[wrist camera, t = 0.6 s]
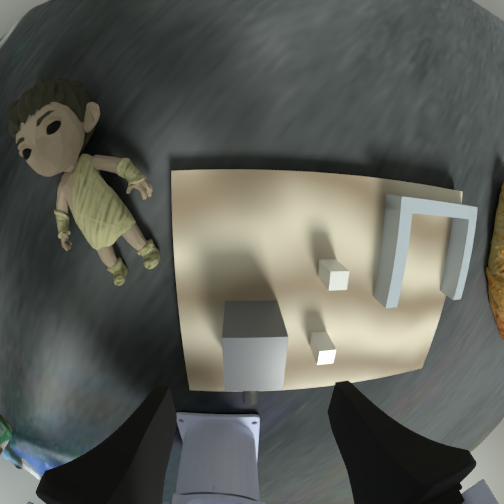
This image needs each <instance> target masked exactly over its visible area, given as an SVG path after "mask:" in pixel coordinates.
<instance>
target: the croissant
mask: <svg viewBox="0 0 504 504" xmlns="http://www.w3.org/2000/svg"><path fill="white" fill-rule="evenodd" d="M494 225H495V226H494V231H493V237H492V241H491V250H490V255H489V261H488V267H487V268H486V276H487V278H488V281H489V284H488V294H489V301H490V306H491V309H492V311H493V313H494V317H495V320H496V323H497V326H498V331H499V335H500V336H501V338H502V339H504V182H503V184H502V188H501V193H500V195H499V203H498V207H497V210H496V217H495V222H494Z"/></svg>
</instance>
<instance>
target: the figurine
mask: <svg viewBox="0 0 504 504" xmlns="http://www.w3.org/2000/svg"><path fill="white" fill-rule="evenodd" d="M99 116H100V110H99V105H98V104H96V103H94V102H91V100H90V97H89V95H88V93H87V91H85V90H84V89H83V88H82V85H81V83H79V82H77V81H67V80H60V79H59V80H43V79H41V78H39V79H38V81H37V83H36V85H35V87H33V88H31V89H29V90H27V91H25V92H24V93H22V96H21V98H20V100H17V101H15V102H14V103H13V105H12V106H11V107H10V111H9V117H8V130H9V133H10V135H11V136H12V137H13V139H14V142H15V144H16V147H17V148H18V150H19V155H20V156H21V157H23V159H25V161H26V162H27V163H28V164H29V165H30V166H31V167H32V168H33V169H34V170H35V171H36V172H37V173H38V174H40V175H43V176H46V177H51V176H54V175H56V174H58V173H61V172H64V174H63V176H62V178H61V182H60V183H59V186H58V192H57V203H56V210H54V214H55V216H56V221H57V226H58V232H59V233H58V238H60V239H61V243H62V247H63V248H64V249H65V250H66V251H68V250H69V249H71V246H69V245H72V242H71V241H70V240H69V238H68V236H69V235H70V229H69V225H70V222H69V220H70V214H69V212H68V205H69V207H70V209H71V212H72V214H73V217H74V219H75V222H76V224H77V225H78V227H79V228H80V230H81V231H82V233H83V235H84V236H85V238H86V240H87V241H88V242H89V244H90V245H91V247H92V248H94V249H96V250H97V252H98V254H99V256H100V258H101V260H102V261H103V262H104V263H105V264H106V265H107V271H109V272H111V273H112V275H113V282H114V284H115V285H118V286H120V285H122V284H123V283H124V282H125V277H126V274H127V272H128V269H127V267H126V266H125V265H124V263H123V262H122V259H121V258H120V257H118V258H116V256H115V253H114V249H113V246H112V245H113V244H114V242H115V241H116V240H117V239H118V237H119V236H121V235H122V236H123V237H124V238H125V239H126V240H127V242H128V243H129V244H130V245H131V246H132V247H134V248H135V249H136V252H137V253H138V254H139V255H142V257H143V263H144V266H145V267H146V268H148V269H152V268H154V267H155V266H156V265H157V264H158V262H159V258H160V251H159V250H158V249H157V248H156V246H155V245H154V243H153V240H152V239H150V240H146V239H145V238H144V236H143V235H142V233H141V231H140V229H139V228H138V226H137V224H136V221H135V219H134V218H133V216H132V214H131V213H130V211H129V210H128V208H127V207H126V206H125V204H124V203H123V202H122V200H121V199H120V198H119V196H118V195H117V194H116V192H115V191H114V190H113V189H112V188H111V187H110V186H108V184H107V183H106V182H105V181H104V180H103V178H102V176H101V175H100V171H99V170H104V171H108V172H113V173H117V174H118V175H119V176H120V177H122V178H125V179H126V180H127V181H128V182H129V184H128V189H127V192H126V194H130V192H131V190H132V188H135V189H138V190H140V192H141V195H142V198H143V200H145V199H146V198H147V195H148V197H151V192H153V190H152V186H151V185H150V184H149V183H148V181H147V177H146V176H144V175H143V174H141V173H140V171H139V170H138V169H137V168H136V167H135V166H134V165H133V163H132V162H131V160H130V158H122V159H121V158H118V157H112V156H104V155H94V156H91V155H89V154H82V153H83V151H84V149H85V147H86V145H87V143H88V141H89V139H90V137H91V135H92V134H93V132H94V130H95V128H96V124H97V122H98V119H99ZM144 188H145V189H144ZM145 190H146V191H145ZM66 242H67V243H68V244H69V245H67V243H66Z"/></svg>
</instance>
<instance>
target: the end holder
mask: <svg viewBox="0 0 504 504" xmlns="http://www.w3.org/2000/svg"><path fill="white" fill-rule="evenodd" d="M477 208H478V207H473V206H469V205H465V204H460V203H454V202H447V201H441V200H434V199H426V198H419V197H411V196H403V195H394V194H386V204H385V216H384V227H383V236H382V245H381V253H380V260H379V267H378V273H377V279H376V285H375V291H374V296H373V297H374V298H375V299H376V300H378V301H379V302H380V303H381V304H382V305H383V306H384V307H385V308H394V307H397V306H398V301H399V297H400V292H401V287H402V282H403V277H404V272H405V266H406V260H407V254H408V247H409V240H410V232H411V223H412V213H413V214H424V215H434V216H444V217H453V219H452V228H451V235H450V242H449V248H448V254H447V260H446V265H445V270H444V275H443V279H442V284H441V288H440V291H441V292H442V293H444V294H445V295H447V296H448V297H450V298H451V299H452V300H458V299H461V297H462V293H463V289H464V285H465V281H466V277H467V272H468V268H469V263H470V258H471V252H472V247H473V240H474V234H475V226H476V218H477Z"/></svg>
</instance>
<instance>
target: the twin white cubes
mask: <svg viewBox="0 0 504 504" xmlns="http://www.w3.org/2000/svg"><path fill="white" fill-rule="evenodd" d="M318 278H319V279H320V280H321V282H322V283H323V284H324V285H325V287H326V288H327V290H328V291H335V290H347V286H348V278H349V270H348V269H346V268H345V267H344V266H343V265H342V264H341V263H340V262H339V261H338V260H337V259H319V269H318ZM309 346H310V349H311V351H312V354H313V356H314V359H315V361H316V364H317V365H322V364H332V363H334V358H335V353H336V348H335V346H334V344H333V343H332V341H331V339H330V337H329V335H328V333H327V332H312V333H311V337H310V344H309Z"/></svg>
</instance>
